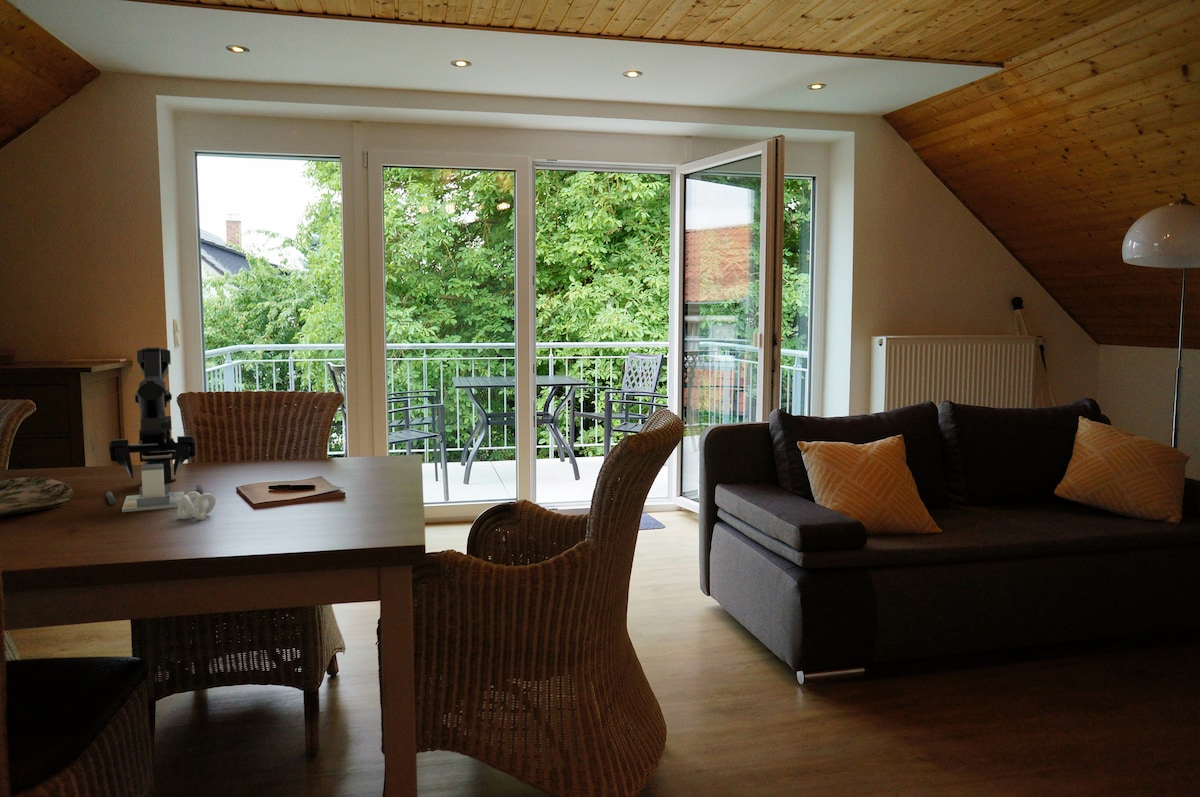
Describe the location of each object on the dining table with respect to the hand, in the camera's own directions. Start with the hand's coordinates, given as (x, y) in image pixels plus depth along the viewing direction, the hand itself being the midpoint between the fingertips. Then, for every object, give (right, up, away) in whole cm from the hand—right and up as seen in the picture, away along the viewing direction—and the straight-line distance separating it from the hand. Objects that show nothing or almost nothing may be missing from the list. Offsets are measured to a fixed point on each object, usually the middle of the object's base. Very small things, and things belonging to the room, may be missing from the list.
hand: (153, 475), depth 205 cm
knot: (+17, -9, -13) cm, 23 cm away
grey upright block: (+1, -6, -2) cm, 7 cm away
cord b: (-13, -7, +4) cm, 15 cm away
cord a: (+5, -6, +13) cm, 15 cm away
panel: (-1, -7, +2) cm, 7 cm away
